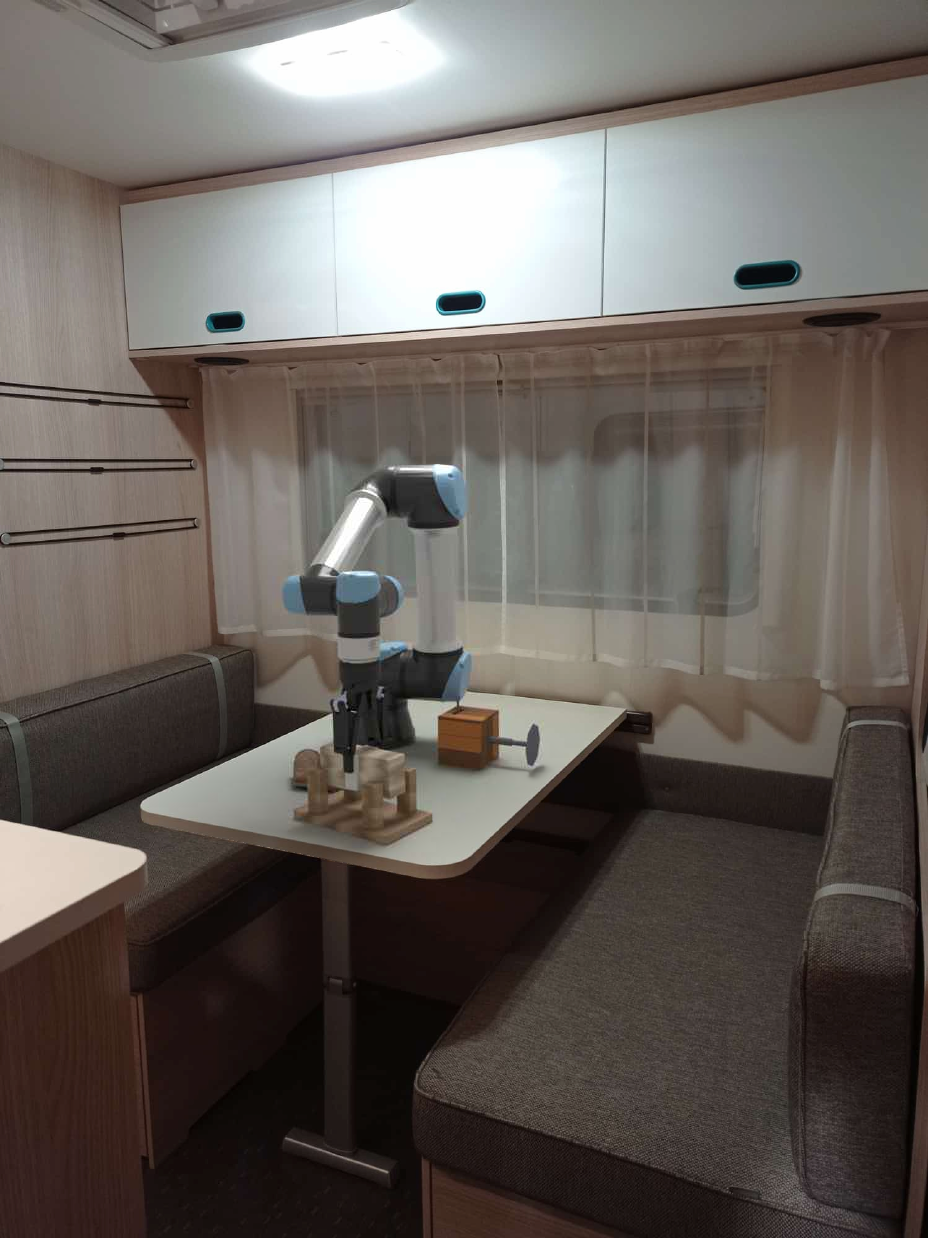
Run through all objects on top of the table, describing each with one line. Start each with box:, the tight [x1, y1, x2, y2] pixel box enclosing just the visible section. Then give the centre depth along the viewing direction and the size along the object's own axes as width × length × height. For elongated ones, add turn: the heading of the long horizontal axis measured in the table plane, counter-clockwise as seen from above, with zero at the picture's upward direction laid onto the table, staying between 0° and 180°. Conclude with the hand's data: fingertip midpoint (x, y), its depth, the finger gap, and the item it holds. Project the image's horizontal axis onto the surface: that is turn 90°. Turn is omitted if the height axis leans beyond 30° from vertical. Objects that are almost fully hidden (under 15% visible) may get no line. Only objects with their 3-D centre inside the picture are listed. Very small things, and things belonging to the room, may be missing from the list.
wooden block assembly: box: [293, 766, 433, 846], centre depth 162 cm, size 22×13×10 cm, turn 55°
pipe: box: [292, 748, 344, 793], centre depth 182 cm, size 6×17×10 cm
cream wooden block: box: [319, 741, 406, 800], centre depth 162 cm, size 16×4×7 cm, turn 57°
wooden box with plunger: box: [437, 696, 541, 771], centre depth 195 cm, size 11×20×14 cm, turn 66°
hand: (362, 784), depth 162 cm, fingers closed on cream wooden block, 5 cm apart
